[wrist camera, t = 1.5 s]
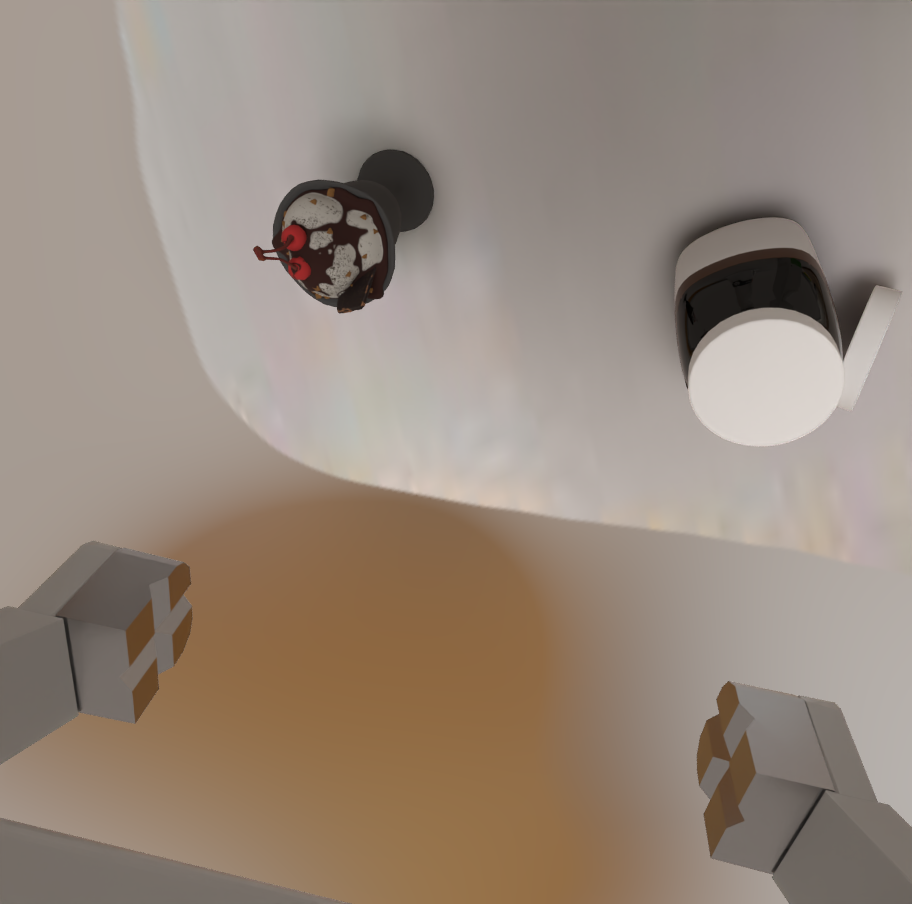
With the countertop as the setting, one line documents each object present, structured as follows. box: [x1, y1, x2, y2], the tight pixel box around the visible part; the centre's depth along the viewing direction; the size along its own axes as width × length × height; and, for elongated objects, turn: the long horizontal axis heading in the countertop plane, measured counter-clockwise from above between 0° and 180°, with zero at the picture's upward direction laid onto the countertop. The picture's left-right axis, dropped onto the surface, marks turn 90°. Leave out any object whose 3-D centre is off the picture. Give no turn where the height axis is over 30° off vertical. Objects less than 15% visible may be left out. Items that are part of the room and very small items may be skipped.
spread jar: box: [674, 217, 902, 447], centre depth 39 cm, size 12×11×12 cm
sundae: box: [253, 150, 434, 313], centre depth 40 cm, size 7×7×15 cm
